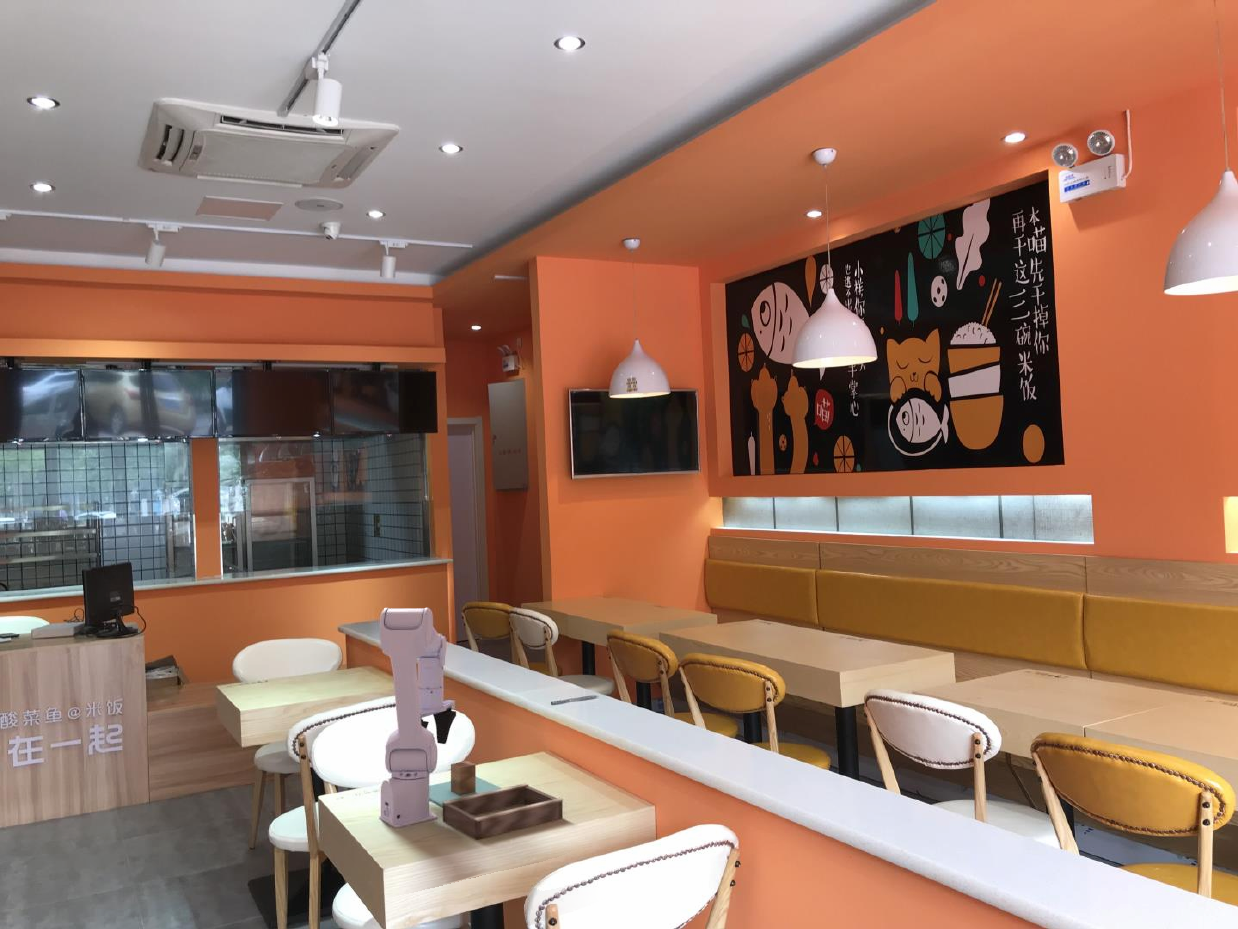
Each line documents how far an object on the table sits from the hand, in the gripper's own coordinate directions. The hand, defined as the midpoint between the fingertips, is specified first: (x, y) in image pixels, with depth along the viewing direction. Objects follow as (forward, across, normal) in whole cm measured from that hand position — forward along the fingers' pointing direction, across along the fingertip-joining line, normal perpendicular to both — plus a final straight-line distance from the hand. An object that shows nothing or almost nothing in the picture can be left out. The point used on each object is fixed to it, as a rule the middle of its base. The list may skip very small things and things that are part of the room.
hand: (430, 747), depth 219 cm
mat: (+9, +1, -8) cm, 12 cm away
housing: (+9, -8, -27) cm, 30 cm away
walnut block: (+9, +1, -9) cm, 12 cm away
